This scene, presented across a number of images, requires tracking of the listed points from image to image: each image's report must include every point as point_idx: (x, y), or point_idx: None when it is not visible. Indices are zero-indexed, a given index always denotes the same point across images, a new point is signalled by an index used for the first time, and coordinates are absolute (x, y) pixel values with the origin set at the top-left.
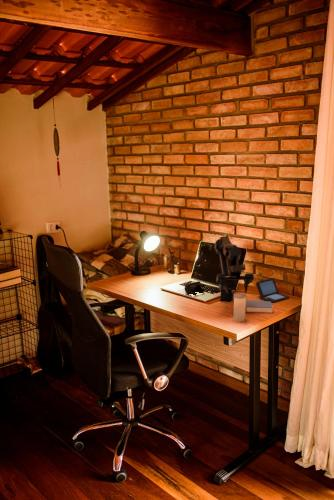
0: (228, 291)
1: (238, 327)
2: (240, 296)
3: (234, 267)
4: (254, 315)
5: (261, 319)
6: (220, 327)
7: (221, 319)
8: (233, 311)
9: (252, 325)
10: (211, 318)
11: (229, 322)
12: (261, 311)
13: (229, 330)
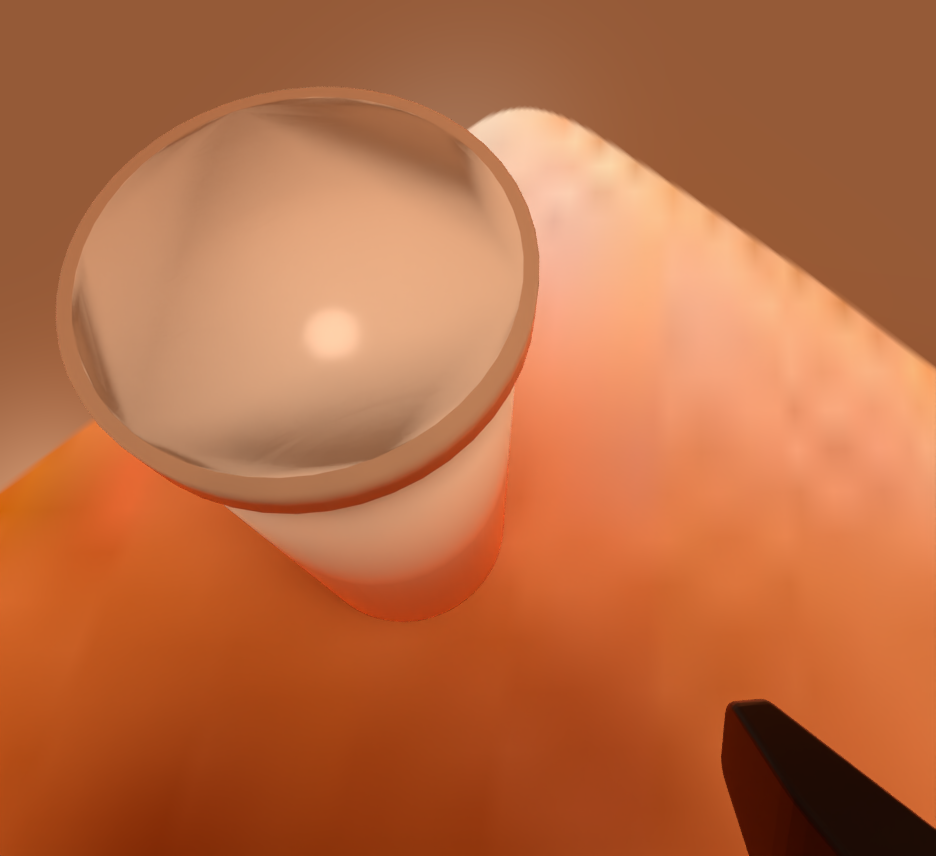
0: (759, 732)
1: None
2: (331, 122)
3: None
4: (67, 751)
5: (27, 548)
6: (711, 240)
7: (698, 532)
8: (506, 487)
9: None
10: (874, 575)
11: (574, 410)
12: None
13: (596, 162)
